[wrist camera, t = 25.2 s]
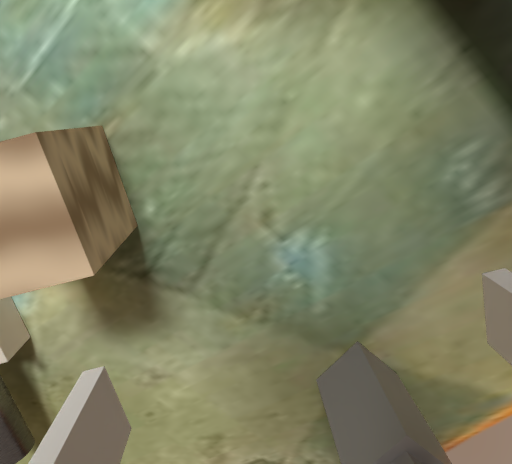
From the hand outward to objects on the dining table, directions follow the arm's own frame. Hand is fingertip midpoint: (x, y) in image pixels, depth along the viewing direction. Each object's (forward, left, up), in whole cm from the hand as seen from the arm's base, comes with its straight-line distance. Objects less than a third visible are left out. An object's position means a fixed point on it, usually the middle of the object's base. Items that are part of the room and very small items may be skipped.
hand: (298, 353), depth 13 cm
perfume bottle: (+24, +6, -27) cm, 37 cm away
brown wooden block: (-5, -16, -27) cm, 32 cm away
